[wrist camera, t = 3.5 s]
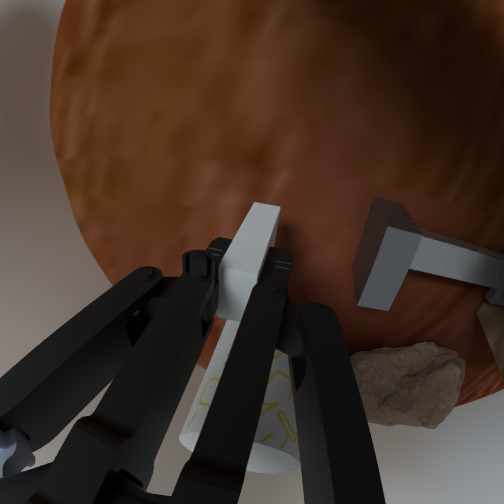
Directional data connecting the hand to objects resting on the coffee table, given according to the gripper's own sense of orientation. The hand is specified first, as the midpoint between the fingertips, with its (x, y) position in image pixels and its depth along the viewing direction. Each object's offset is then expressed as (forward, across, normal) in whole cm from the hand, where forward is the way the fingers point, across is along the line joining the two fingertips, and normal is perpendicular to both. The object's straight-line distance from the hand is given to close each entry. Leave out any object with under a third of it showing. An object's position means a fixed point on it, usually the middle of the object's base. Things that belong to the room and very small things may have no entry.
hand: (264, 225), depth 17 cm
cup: (+3, +2, -12) cm, 12 cm away
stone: (+3, +16, -14) cm, 21 cm away
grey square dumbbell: (+2, +19, 0) cm, 19 cm away
